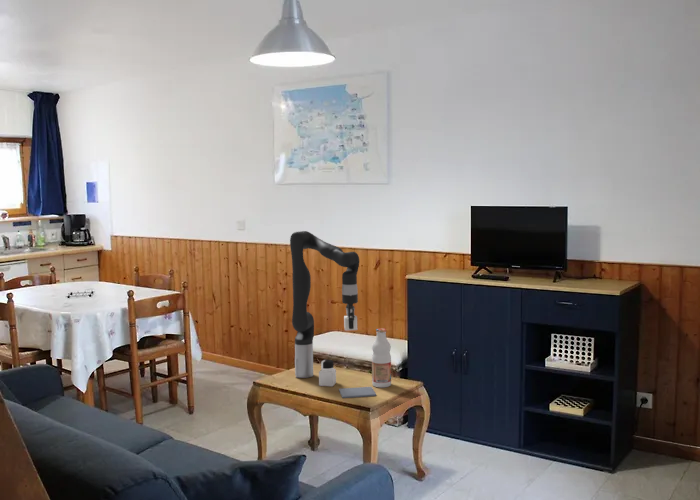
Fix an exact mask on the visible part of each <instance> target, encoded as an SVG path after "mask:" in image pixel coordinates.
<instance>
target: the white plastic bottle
mask: <svg viewBox="0 0 700 500" xmlns="http://www.w3.org/2000/svg"><path fill="white" fill-rule="evenodd" d="M375 332H376V335H375V339H374V341H373V342H372V345H371V349H372V354H371V355H372V356H371V379H372V380H371V382H372V386H373V387H375V388H380V389H381V388H388V387H389V388H390V386H391V385H392V355H391V343H390V342H389V341H388V339H387V335H386V333H387V329H386V328H383V327H382V328H379V327H378V328H376V329H375Z"/></svg>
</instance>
